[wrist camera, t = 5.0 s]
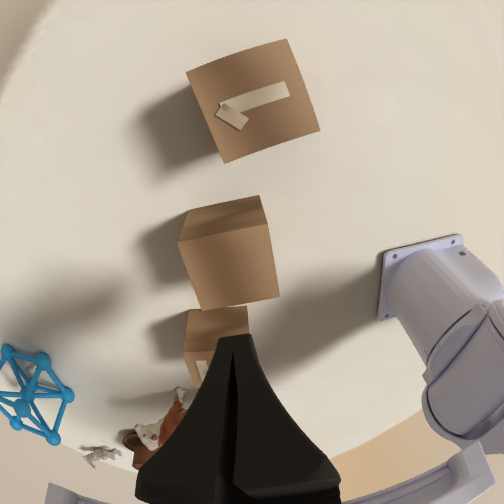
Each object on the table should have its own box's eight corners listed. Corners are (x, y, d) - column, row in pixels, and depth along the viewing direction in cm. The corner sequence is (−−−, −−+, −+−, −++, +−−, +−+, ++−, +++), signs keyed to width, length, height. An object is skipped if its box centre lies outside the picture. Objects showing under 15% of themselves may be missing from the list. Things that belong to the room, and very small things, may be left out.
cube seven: (246, 305, 24) (250, 349, 20) (249, 343, 26) (253, 386, 22) (189, 308, 24) (182, 352, 19) (198, 346, 26) (195, 389, 22)
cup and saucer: (202, 443, 39) (202, 474, 34) (169, 455, 43) (168, 481, 38) (139, 421, 35) (134, 454, 30) (115, 436, 39) (110, 463, 33)
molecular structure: (78, 394, 31) (61, 450, 23) (32, 383, 31) (13, 430, 22) (48, 350, 26) (20, 413, 18) (2, 339, 26) (-26, 391, 17)
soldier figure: (130, 451, 45) (106, 467, 45) (117, 434, 47) (94, 451, 46) (109, 462, 38) (86, 476, 37) (95, 443, 39) (73, 459, 39)
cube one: (272, 55, 15) (286, 38, 10) (298, 123, 17) (321, 130, 13) (197, 81, 15) (185, 72, 11) (226, 148, 18) (224, 164, 13)
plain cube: (258, 194, 19) (267, 223, 15) (270, 256, 22) (280, 296, 17) (189, 209, 19) (177, 242, 15) (207, 268, 22) (202, 310, 18)
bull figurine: (137, 385, 29) (126, 442, 22) (244, 373, 29) (248, 439, 22) (153, 403, 32) (146, 456, 24) (253, 393, 31) (258, 452, 24)
